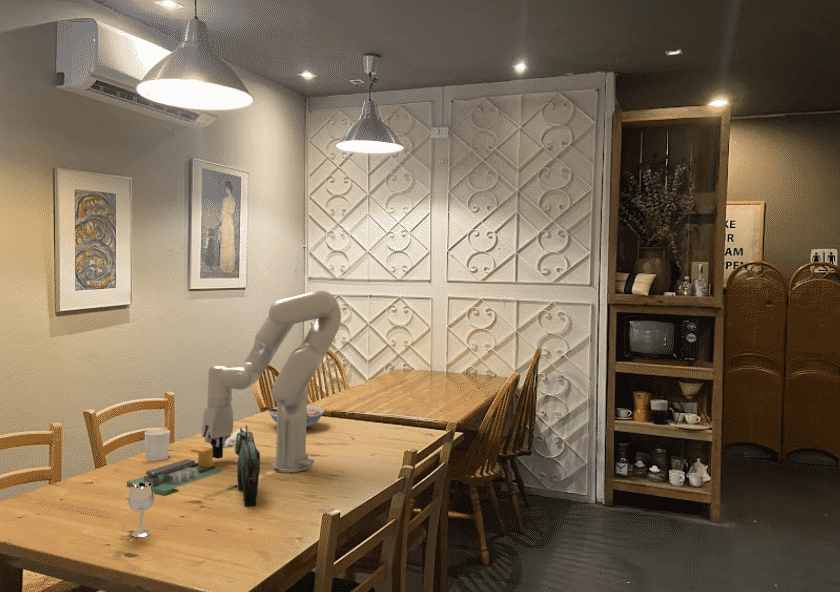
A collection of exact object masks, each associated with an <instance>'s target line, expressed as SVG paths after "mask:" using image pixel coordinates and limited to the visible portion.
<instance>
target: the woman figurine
mask: <svg viewBox="0 0 840 592" xmlns="http://www.w3.org/2000/svg"><path fill="white" fill-rule="evenodd" d="M241 428H242V427H241ZM242 430H243V431H244V432H246V428H242ZM247 432H250V431H249V428H247ZM237 433H240V427H239V428H237V429H236V430H235V431H234V432H232V434H231V436H230V437H229V438H227V439H226V441H225V444H224V445H223V449H227V448H228V447H231V446H234V445H236V437H237Z"/></svg>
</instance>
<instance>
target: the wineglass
mask: <svg viewBox="0 0 840 592" xmlns="http://www.w3.org/2000/svg"><path fill="white" fill-rule="evenodd" d="M127 500H128V506H129V508H130V509H131V510H132V511H134V512H138V513H139V514H138V517H139V529H138V530H136V531H133V532H132V533H131V534H130V536H131V535H132V536H134V537H133V538H135V537H141V538H145V536H146V537H148V536H150V535H151V534H152V532H151V530H147V529H144V528H143V519H144V512H146V511H147V510H149V509H151V508H152V506H154V502H155V493H154V490H153V486H152V483H150V482H139V483H135V484H133V485H131V487H130V489H129V493H128V499H127ZM132 536H131V537H132Z"/></svg>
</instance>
